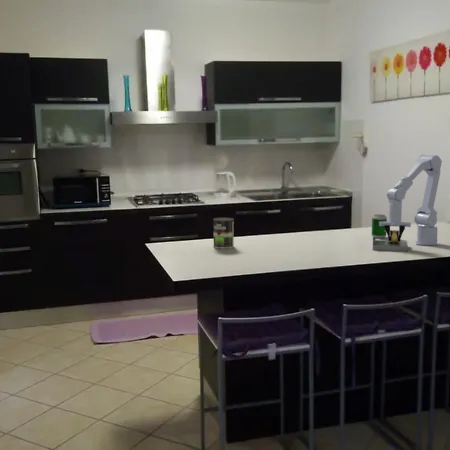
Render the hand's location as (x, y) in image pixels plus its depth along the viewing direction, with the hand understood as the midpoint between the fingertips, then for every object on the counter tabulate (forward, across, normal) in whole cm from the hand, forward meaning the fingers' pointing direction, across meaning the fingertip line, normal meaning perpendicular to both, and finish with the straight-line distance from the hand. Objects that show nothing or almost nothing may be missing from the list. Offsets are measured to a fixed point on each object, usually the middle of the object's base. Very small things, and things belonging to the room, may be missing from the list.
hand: (394, 241), depth 272 cm
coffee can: (+4, -82, -13) cm, 83 cm away
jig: (+3, -2, -1) cm, 4 cm away
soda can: (+4, -7, +26) cm, 27 cm away
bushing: (+2, 0, 0) cm, 2 cm away
